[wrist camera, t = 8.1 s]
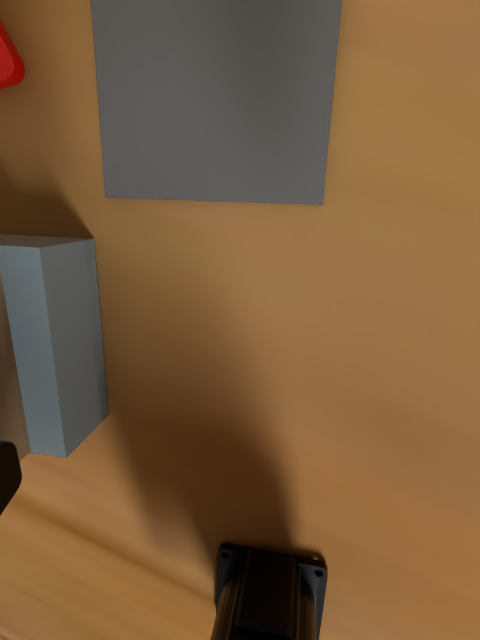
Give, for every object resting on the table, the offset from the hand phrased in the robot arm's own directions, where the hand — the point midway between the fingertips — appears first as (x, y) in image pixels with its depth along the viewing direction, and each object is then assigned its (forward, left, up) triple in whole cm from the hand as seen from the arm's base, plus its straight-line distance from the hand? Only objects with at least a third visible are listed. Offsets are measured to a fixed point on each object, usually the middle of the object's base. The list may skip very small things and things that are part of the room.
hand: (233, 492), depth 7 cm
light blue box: (-2, +15, -12) cm, 19 cm away
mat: (+10, +4, -12) cm, 16 cm away
